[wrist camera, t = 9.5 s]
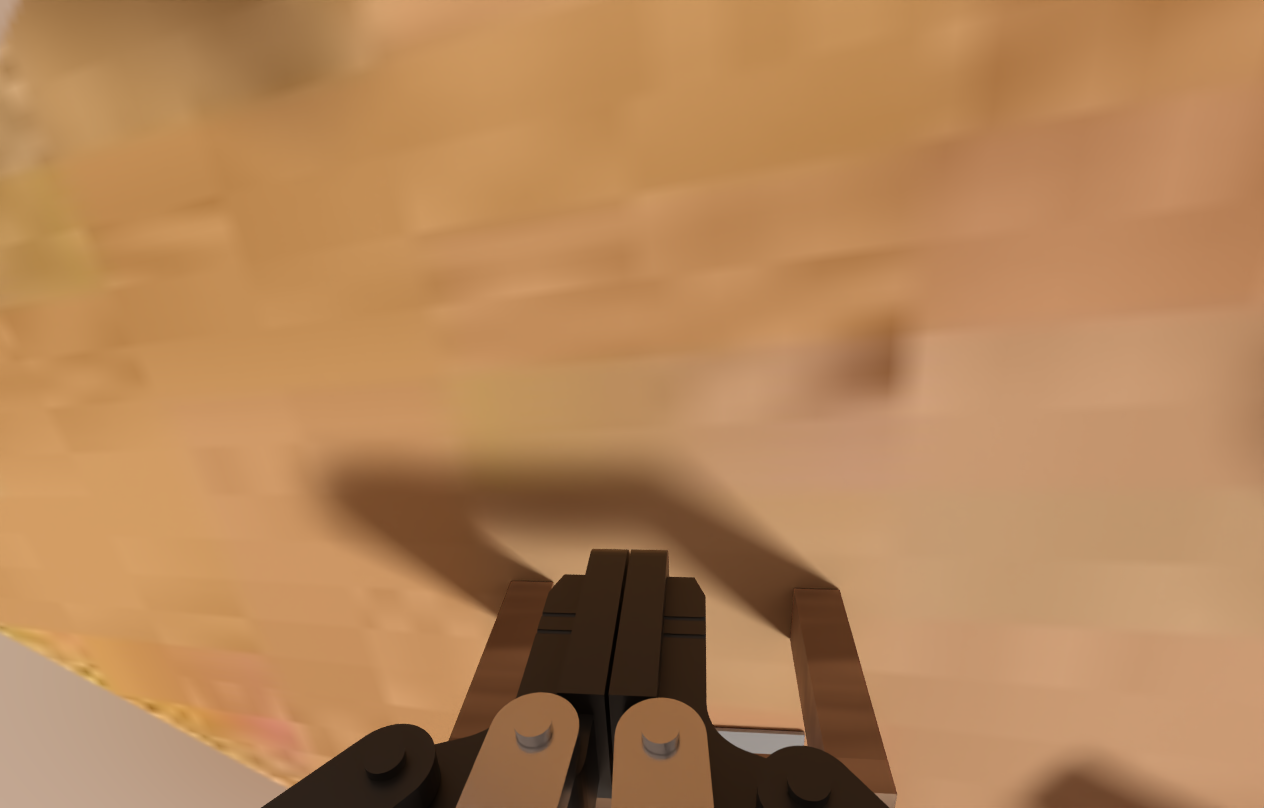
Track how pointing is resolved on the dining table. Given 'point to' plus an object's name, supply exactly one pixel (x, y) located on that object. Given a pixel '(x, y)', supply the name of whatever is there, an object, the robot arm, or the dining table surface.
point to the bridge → (820, 660)
